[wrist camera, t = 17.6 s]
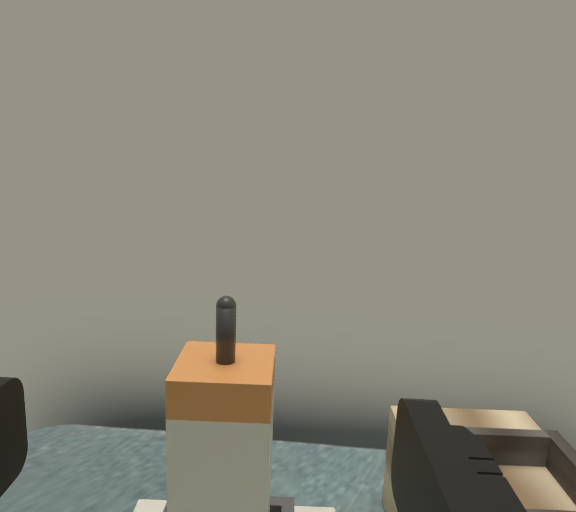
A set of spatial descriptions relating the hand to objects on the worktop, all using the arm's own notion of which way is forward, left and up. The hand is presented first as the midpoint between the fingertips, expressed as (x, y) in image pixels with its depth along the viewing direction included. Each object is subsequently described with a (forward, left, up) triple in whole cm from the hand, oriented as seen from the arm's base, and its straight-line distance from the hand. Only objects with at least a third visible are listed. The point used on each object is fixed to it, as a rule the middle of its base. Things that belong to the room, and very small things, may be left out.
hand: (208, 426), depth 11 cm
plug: (-2, +15, -19) cm, 24 cm away
